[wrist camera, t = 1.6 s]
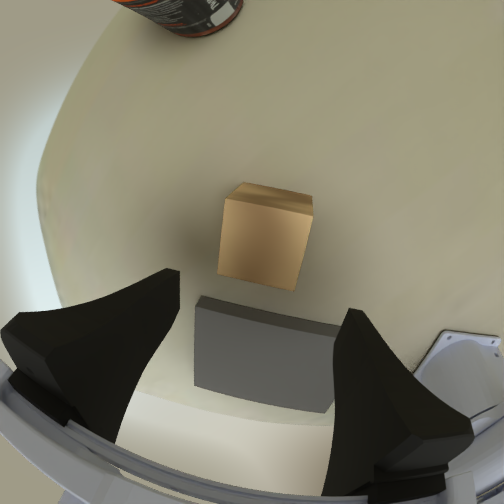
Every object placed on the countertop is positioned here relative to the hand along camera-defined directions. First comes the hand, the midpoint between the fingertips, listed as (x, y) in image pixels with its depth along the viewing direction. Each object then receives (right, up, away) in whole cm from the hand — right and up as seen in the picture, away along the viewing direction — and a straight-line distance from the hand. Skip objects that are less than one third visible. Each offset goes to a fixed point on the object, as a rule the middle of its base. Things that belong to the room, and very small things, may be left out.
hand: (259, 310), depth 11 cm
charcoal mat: (+2, -8, +13) cm, 15 cm away
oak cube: (+1, +5, +7) cm, 9 cm away
